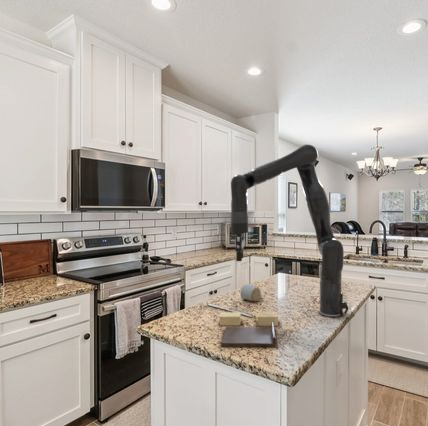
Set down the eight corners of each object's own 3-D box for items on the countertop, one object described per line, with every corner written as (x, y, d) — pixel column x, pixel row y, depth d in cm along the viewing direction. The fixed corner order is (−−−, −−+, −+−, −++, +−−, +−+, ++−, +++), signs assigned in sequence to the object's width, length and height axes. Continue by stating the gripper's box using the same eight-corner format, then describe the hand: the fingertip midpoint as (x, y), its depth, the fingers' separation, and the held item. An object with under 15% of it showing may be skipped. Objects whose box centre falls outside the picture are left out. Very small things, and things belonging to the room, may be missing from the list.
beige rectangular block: (277, 321, 124) (277, 312, 124) (278, 325, 119) (278, 316, 119) (257, 321, 124) (257, 312, 124) (257, 325, 119) (257, 316, 119)
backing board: (273, 330, 114) (273, 321, 114) (275, 347, 100) (275, 337, 100) (226, 330, 114) (226, 321, 114) (221, 346, 100) (221, 337, 100)
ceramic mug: (252, 303, 147) (252, 287, 147) (240, 300, 152) (240, 285, 152) (265, 299, 155) (266, 284, 155) (253, 296, 160) (253, 281, 160)
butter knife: (211, 302, 146) (206, 303, 144) (254, 315, 129) (250, 317, 127) (210, 303, 146) (206, 305, 144) (254, 316, 129) (250, 318, 127)
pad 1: (240, 320, 124) (240, 312, 124) (240, 325, 119) (240, 316, 119) (221, 320, 124) (221, 312, 124) (219, 325, 119) (219, 316, 119)
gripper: (247, 222, 122) (247, 262, 123) (249, 221, 137) (249, 256, 137) (228, 222, 123) (229, 262, 123) (232, 221, 137) (232, 257, 137)
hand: (240, 259), depth 130 cm, fingers open, 8 cm apart
